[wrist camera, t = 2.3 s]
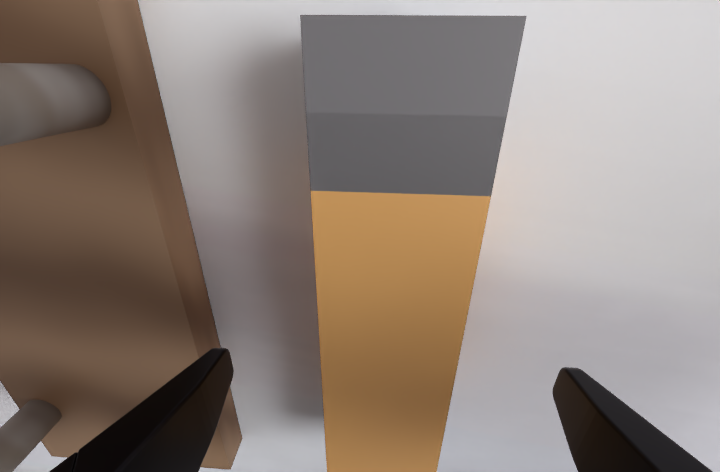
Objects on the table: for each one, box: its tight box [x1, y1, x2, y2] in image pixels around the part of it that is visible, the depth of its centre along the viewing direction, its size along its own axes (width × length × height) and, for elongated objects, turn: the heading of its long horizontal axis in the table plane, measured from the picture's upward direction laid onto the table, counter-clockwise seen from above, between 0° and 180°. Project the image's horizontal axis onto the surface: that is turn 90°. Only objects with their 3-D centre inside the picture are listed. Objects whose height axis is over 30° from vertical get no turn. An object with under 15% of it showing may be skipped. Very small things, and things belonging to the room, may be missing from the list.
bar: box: [300, 15, 526, 472], centre depth 11 cm, size 16×4×4 cm, turn 179°
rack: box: [0, 0, 242, 472], centre depth 11 cm, size 20×9×5 cm, turn 179°
